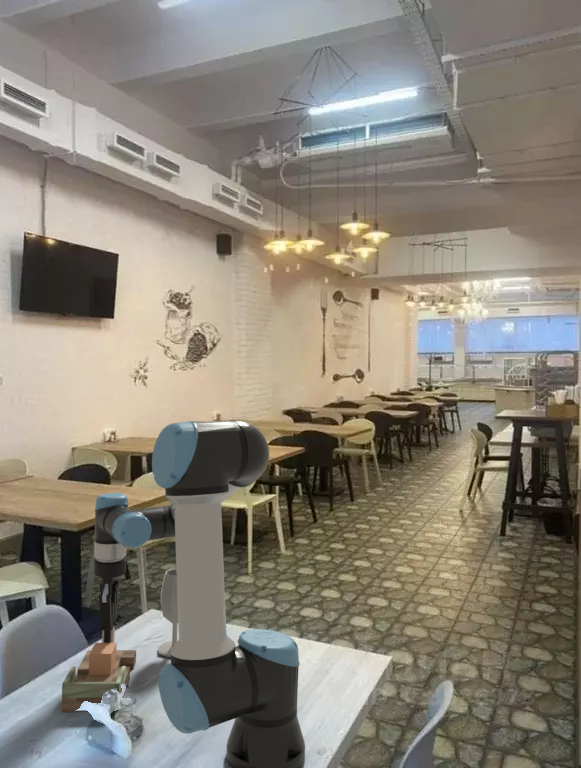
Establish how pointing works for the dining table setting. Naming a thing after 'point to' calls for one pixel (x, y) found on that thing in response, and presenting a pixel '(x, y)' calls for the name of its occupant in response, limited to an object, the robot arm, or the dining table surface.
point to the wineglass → (169, 608)
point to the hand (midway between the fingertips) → (108, 654)
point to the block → (102, 659)
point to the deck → (95, 681)
